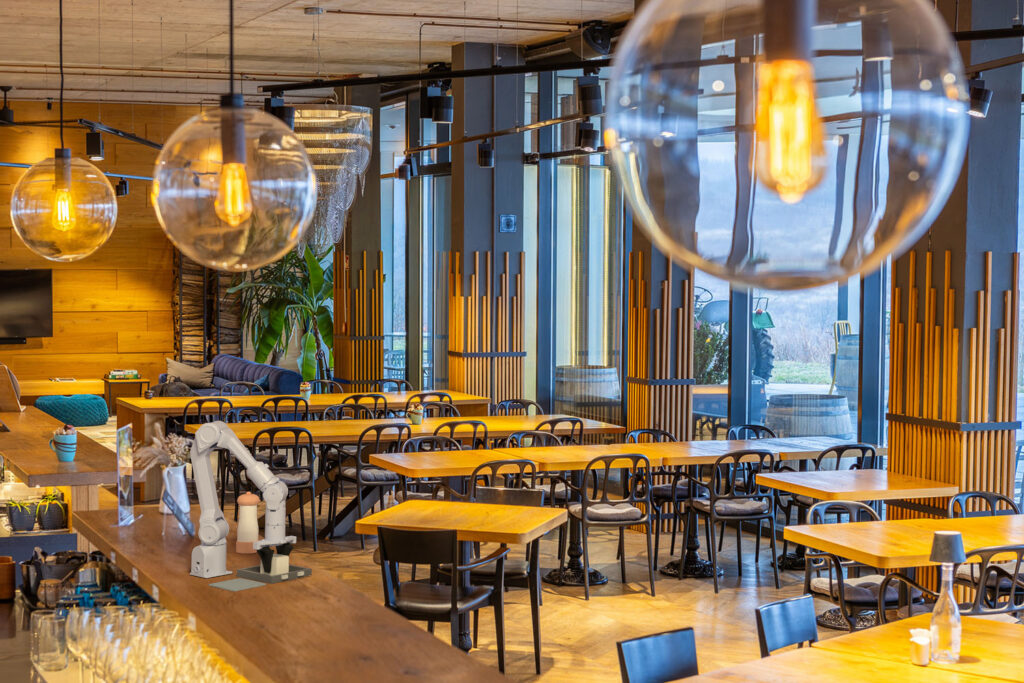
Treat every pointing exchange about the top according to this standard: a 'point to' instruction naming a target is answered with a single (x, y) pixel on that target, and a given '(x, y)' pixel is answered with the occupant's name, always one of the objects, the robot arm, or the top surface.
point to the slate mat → (237, 584)
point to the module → (277, 565)
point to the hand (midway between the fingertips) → (274, 571)
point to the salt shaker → (247, 523)
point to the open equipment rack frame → (255, 574)
